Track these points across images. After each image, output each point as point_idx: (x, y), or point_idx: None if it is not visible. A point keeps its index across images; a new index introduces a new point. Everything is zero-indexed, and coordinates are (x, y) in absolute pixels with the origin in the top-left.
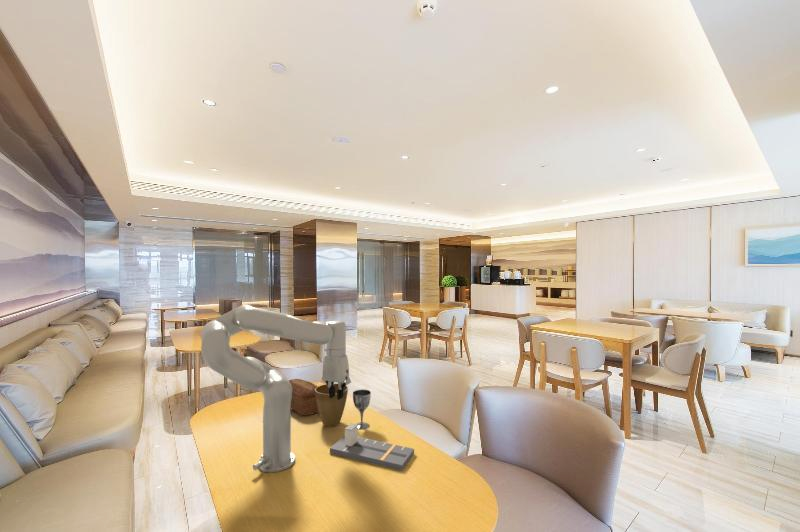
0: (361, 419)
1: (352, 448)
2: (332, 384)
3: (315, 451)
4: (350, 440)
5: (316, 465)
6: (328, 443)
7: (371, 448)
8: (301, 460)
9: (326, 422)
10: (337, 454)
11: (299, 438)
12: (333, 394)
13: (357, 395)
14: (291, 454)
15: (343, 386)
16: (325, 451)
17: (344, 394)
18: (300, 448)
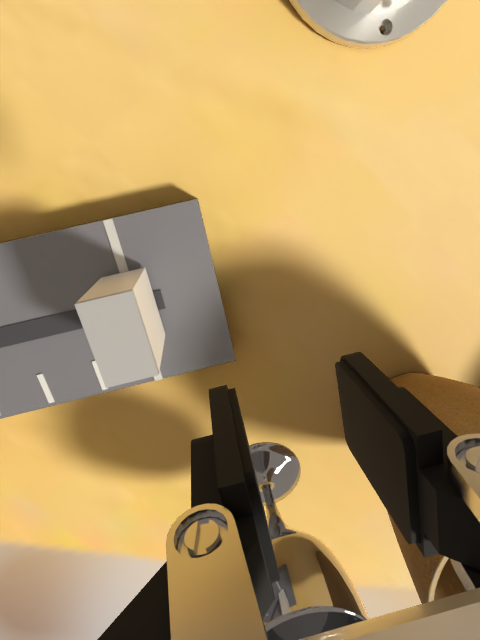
0: (268, 496)
1: (90, 272)
2: (474, 553)
3: (275, 165)
4: (100, 283)
5: (159, 57)
6: (278, 266)
7: (5, 333)
8: (270, 44)
9: (411, 379)
10: (148, 209)
11: (444, 211)
12: (353, 427)
13: (353, 621)
14: (346, 22)
15: (125, 619)
16: (231, 198)
17: (416, 574)
18: (367, 138)
